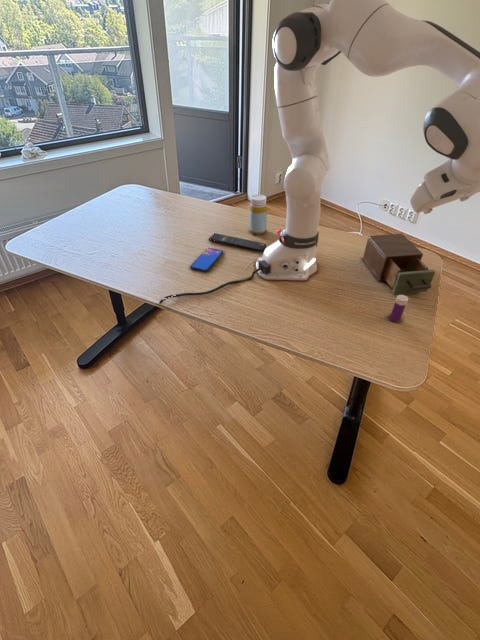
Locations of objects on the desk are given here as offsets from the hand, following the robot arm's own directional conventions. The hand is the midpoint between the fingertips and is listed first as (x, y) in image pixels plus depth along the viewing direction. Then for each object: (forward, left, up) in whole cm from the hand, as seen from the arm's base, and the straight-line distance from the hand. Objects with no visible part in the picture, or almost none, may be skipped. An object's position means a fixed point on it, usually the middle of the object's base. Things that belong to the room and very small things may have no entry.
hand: (444, 204), depth 89 cm
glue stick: (-7, -7, -32) cm, 34 cm away
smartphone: (-62, +35, -32) cm, 78 cm away
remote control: (-49, +46, -33) cm, 75 cm away
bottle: (-39, +56, -33) cm, 76 cm away
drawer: (+3, +8, -31) cm, 33 cm away
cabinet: (+3, +20, -32) cm, 38 cm away
